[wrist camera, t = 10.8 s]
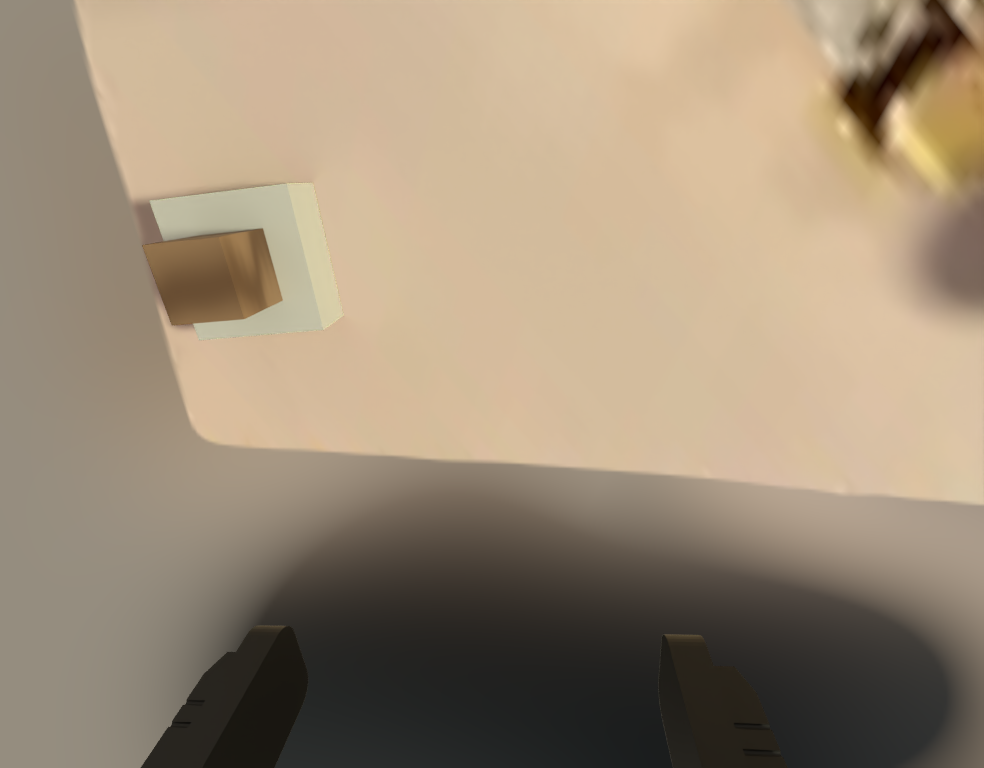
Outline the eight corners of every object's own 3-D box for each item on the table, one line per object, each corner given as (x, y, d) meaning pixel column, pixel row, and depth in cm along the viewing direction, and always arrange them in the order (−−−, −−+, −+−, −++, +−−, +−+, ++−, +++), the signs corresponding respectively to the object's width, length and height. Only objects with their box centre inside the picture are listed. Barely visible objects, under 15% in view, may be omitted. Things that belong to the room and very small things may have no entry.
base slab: (187, 198, 37) (149, 200, 33) (312, 182, 36) (286, 183, 32) (229, 325, 41) (198, 340, 37) (343, 315, 39) (323, 330, 36)
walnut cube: (195, 235, 34) (142, 245, 29) (262, 228, 33) (218, 236, 29) (219, 306, 36) (171, 325, 31) (282, 300, 35) (244, 319, 31)
